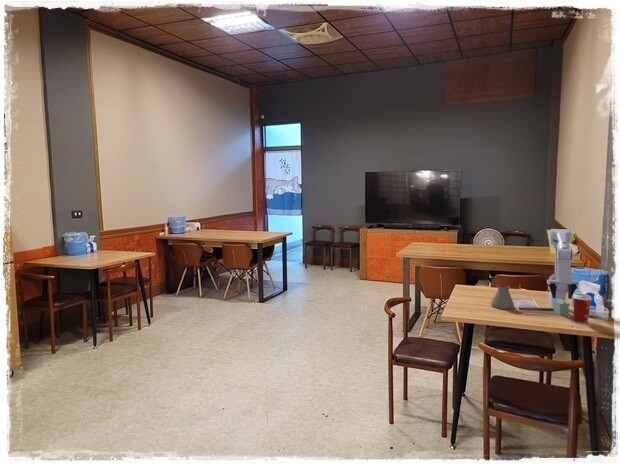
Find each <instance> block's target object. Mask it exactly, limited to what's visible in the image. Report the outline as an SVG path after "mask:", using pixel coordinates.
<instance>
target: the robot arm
mask: <svg viewBox="0 0 620 465" xmlns="http://www.w3.org/2000/svg"><path fill="white" fill-rule="evenodd" d="M549 231H550V234H549V236H550V237H549V243H550V245H551V246H553V249H554V274H552V275H550V276H549V278H548V279H546V284H547V288H548V291H549V293H548V295H547V296H548V297H547V303H548V304H549V306H551V307H552V308H554V300H557V299H561V300H563V301H565V302H566V303H567V298H568V299H569V300H572V298H573V296H574V293H575V292H576V290H577V289H578V286H580V281H579V280H572V279H570V278H571V265H572V264H571V263H572V262H571V261H573V256H574V255H573V254H574V252H573V249H572V248H571V245H570V244H571V239H572V229H571V228H569V229H566V228H565V229H561V228H559V229H558V228H551V229H550V230H549ZM567 294H568V295H567Z"/></svg>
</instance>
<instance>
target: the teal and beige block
mask: <svg viewBox="0 0 620 465" xmlns="http://www.w3.org/2000/svg"><path fill="white" fill-rule="evenodd" d="M553 308H554V312H556V313H557V314H559V315H568V313H569V308H570V307H569V303H568V302H567V301H566V302H565V301H563V300H561V299H557V300H554V307H553Z"/></svg>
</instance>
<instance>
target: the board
mask: <svg viewBox="0 0 620 465" xmlns="http://www.w3.org/2000/svg"><path fill="white" fill-rule="evenodd" d="M517 309H518V310H519V311H520V312H521V313H523V315H524V316H530V317H531V316H533V317H534V316H535V317H561V318H563V317H564V318H574V315H572V314H571V313H569V312H568V315H559V314H557V313H556V312H554V307H538V306H537V307H530V306H518V308H517Z"/></svg>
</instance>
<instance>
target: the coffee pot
mask: <svg viewBox="0 0 620 465" xmlns="http://www.w3.org/2000/svg"><path fill="white" fill-rule="evenodd" d="M491 279H492V280H493V282H494V283H495V285H496V287H497V290H496V292H495V294H494V296H493V298H492V300H491V303H490V304H491V306H492V307H493V308H495V309H498V310H513V309H514V307H515V303H514V301H513V299H512V295H511V294H510V291H509V290H510V288H511V286H510V285H505V284H499V283H498V280H496V278H495V276H491Z"/></svg>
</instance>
